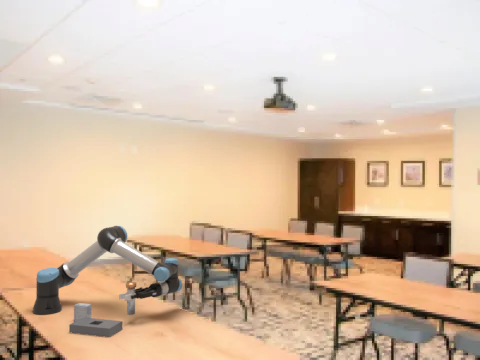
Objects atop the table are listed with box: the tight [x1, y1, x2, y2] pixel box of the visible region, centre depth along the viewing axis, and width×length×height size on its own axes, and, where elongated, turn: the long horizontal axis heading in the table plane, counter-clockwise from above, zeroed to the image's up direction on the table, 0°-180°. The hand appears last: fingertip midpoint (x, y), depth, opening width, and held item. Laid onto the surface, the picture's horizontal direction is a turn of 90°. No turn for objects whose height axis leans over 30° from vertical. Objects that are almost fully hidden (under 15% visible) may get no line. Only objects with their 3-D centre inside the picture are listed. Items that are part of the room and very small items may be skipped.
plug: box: [125, 281, 137, 316], centre depth 231 cm, size 5×5×16 cm
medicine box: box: [73, 302, 92, 322], centre depth 234 cm, size 8×4×9 cm, turn 74°
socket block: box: [68, 317, 124, 338], centre depth 218 cm, size 22×12×4 cm, turn 75°
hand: (122, 297), depth 227 cm, fingers closed on plug, 4 cm apart
